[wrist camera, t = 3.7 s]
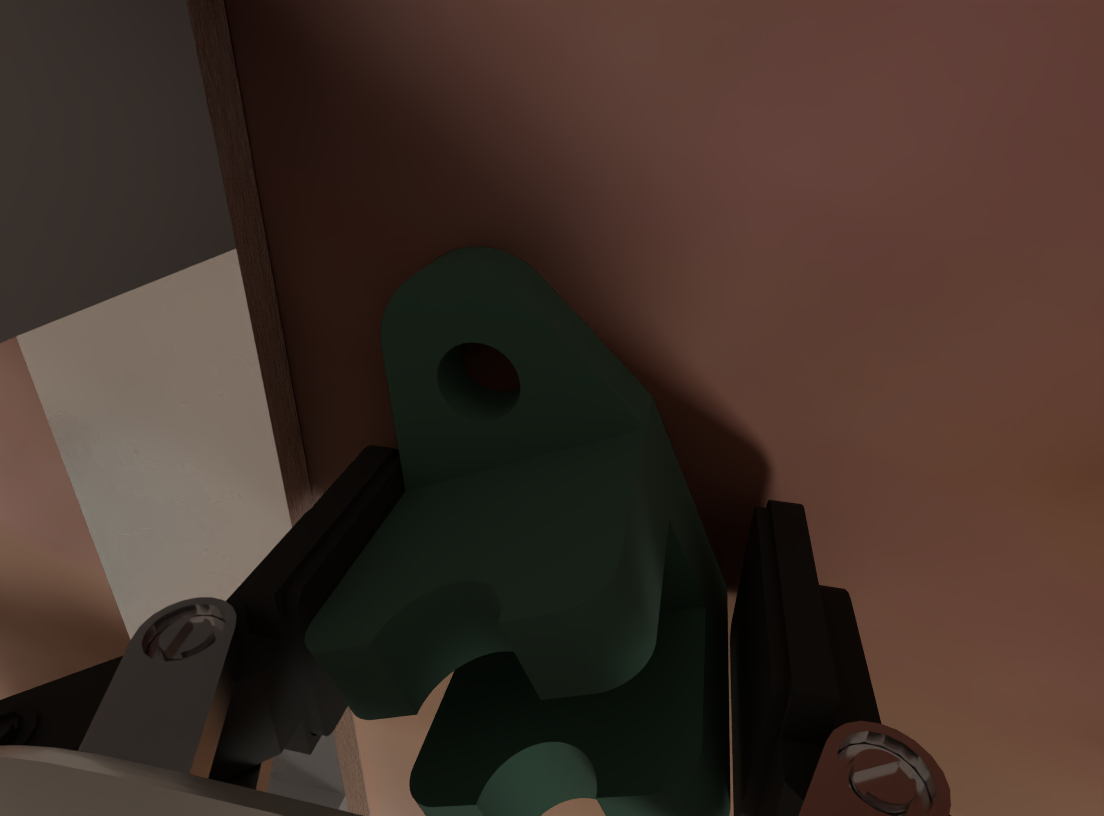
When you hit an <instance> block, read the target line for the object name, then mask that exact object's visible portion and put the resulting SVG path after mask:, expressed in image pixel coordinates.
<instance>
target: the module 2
mask: <svg viewBox="0 0 1104 816" xmlns="http://www.w3.org/2000/svg"><path fill="white" fill-rule="evenodd" d="M267 793H271V794H275V795H280V796H284V797H288V798H292V799H297V800H301V801H305V802H309V803H313V804H318V805H322V806H326V807H330V808H334V809H339V810H343V811H347V812H349V810H348V805H347V800H346V795H343V794H339V793H335V792H331V791H326V790H322V789H318V788H314V787H310V786H305V785H301V784H297V783H293V782H289V781H284V780H280V779H276V778H272V777H270V778H269V783H268V789H267Z"/></svg>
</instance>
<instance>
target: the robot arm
mask: <svg viewBox="0 0 1104 816" xmlns="http://www.w3.org/2000/svg"><path fill="white" fill-rule="evenodd" d="M404 492H405V486H404V480H403V474H402V468H401V461H400V455H399V450H398V449H394V448H386V447H379V446H372V445H371V446H367V447H366V448H365V449H364V450H363V451H362V452H361V453H360V454H359V456H358V457H357V458H356V459H355V460H354V461H353V462H352V463H351V464H350V466H349V467H348V468H347V469H346V470H345V471H344V472H343V473H342V474H341V476H340V477H339V478H338V479H337V480H336V481H335V482H334V483H333V484H332V486H331V487H330V488H329V489H328V490H327V491H326V492H325V493H324V494H323V496H322V497H321V498H320V499H319V500H318V501H317V502H316V503H315V504H314V506H313V507H312V508H311V509H309V510H308V511H307V512H306V513H305V514H304V515H303V516H302V517H301V518H300V519H299V521H298V522H297V523H296V524H295V525H294V526H293V527H292V528H291V529H290V530H289V532H288V533H287V534H286V535H285V536H284V537H283V538H282V539H281V540H280V542H279V543H278V544H277V545H276V546H275V547H274V548H273V549H272V550H271V552H270V553H269V554H268V555H267V556H266V557H265V558H264V559H263V560H262V562H261V563H260V564H259V565H258V566H257V567H256V568H255V569H254V570H253V571H252V573H251V574H250V575H249V576H248V577H247V578H246V579H245V580H244V581H243V583H242V584H241V585H240V586H239V587H238V588H237V589H236V590H235V591H234V593H233V594H232V595H231V596H230V597H229V598H228V599H227V600H226V601H224V600H221V599H217V598H213V597H197V598H192V599H187V600H182V601H180V602H177V603H174V604H172V605H169V606H167V607H165V608H163V609H162V610H160V611H158V612H157V613H155V614H153V615H152V616H151V617H149V618H148V619H147V620H146V621H145V622H144V623H143V624H142V625H140V627H139V628H138V630H137V631H136V633H135V634H134V635H133V637H132V639H131V641H130V643H129V645H128V647H127V649H126V651H125V654H124V656H121V657H118V658H115V659H113V660H110V661H107V662H104V663H101V664H99V665H96V666H93V667H90V668H88V669H85V670H82V671H79V672H77V673H74V674H71V675H68V676H66V677H63V678H60V679H57V680H54V681H52V682H49V683H46V684H43V685H41V686H38V687H35V688H32V689H30V690H27V691H24V692H21V693H18V694H16V695H13V696H10V697H7V698H5V699H2V700H0V816H363V815H359V814H355V813H351V812H347V811H343V810H339V809H334V808H330V807H326V806H322V805H318V804H313V803H309V802H305V801H301V800H297V799H292V798H288V797H284V796H280V795H275V794H271V793H267V789H268V783H269V778H270V773H271V768H272V763H273V757H275V756H277V755H279V754H281V753H282V751H283V750H284V749H286V750H291V751H295V752H299V753H304V754H308V755H311V753H312V752H313V750H314V748H315V746H316V745H317V743H318V741H319V740H320V738H321V736H322V735H323V736H329V735H330V734H331V733H332V732H333V731H334V729H335V728H336V726H337V724H338V723H339V721H340V719H341V717H342V715H343V714H344V712H345V710H346V708H347V707H348V705H347V703H346V702H345V700H344V699H343V698H342V696H341V695H340V693H339V692H338V691H337V689H336V688H335V686H334V685H333V684H332V682H331V681H330V679H329V678H328V676H327V675H326V674H325V672H324V671H323V669H322V668H321V667H320V665H319V664H318V662H317V661H316V659H315V658H314V657H313V655H312V654H311V652H310V651H309V650H308V648H307V647H306V645H305V641H304V639H305V633H306V631H307V628H308V626H309V625H310V623H311V622H312V620H313V619H314V617H315V616H316V614H317V613H318V612H319V610H320V609H321V608H322V606H323V605H324V603H325V602H326V601H327V599H328V598H329V596H330V595H331V594H332V592H333V591H334V590H335V588H336V587H337V585H338V584H339V583H340V581H341V580H342V578H343V577H344V576H345V574H346V573H347V571H348V570H349V569H350V567H351V566H352V565H353V563H354V562H355V560H356V559H357V558H358V556H359V555H360V553H361V552H362V551H363V549H364V548H365V547H366V545H367V544H368V542H369V541H370V540H371V538H372V537H373V535H374V534H375V533H376V531H377V530H378V529H379V527H380V526H381V524H382V523H383V522H384V520H385V519H386V517H387V516H388V515H389V513H390V512H391V510H392V509H393V508H394V506H395V505H396V504H397V502H398V501H399V499H400V498H401V497H402V495H403V494H404ZM730 662H731V708H732V754H733V801H734V816H951V815H950V814H949V813H950V807H951V801H950V788H949V785H948V783H947V780H946V778H945V775H944V773H943V771H942V770H941V768H940V767H939V766H938V764H937V763H936V761H935V760H934V759H933V757H932V756H931V755H930V754H929V753H928V752H927V751H926V750H925V749H924V748H922V747H921V746H920V745H919V744H918V743H917V742H916V741H914V740H913V739H911V738H910V737H908V736H906V735H905V734H903V733H901V732H900V731H898V730H896V729H893V728H890V727H888V726H885V725H882V724H881V720H880V716H879V712H878V708H877V704H876V700H875V696H874V692H873V688H872V684H871V680H870V676H869V671H868V667H867V663H866V659H865V655H864V651H863V647H862V643H861V639H860V635H859V631H858V627H857V623H856V619H855V614H854V610H853V606H852V602H851V599H850V596H849V593H848V592H847V591H846V589H841V588H835V587H828V586H822V585H819V583H818V578H817V573H816V568H815V562H814V557H813V552H812V547H811V542H810V536H809V531H808V526H807V521H806V515H805V510H804V507H803V505H802V504H796V503H788V502H781V501H774V500H769V501H768V503H767V506H766V508H763V507H755V509H754V512H753V517H752V522H751V527H750V532H749V537H748V542H747V547H746V552H745V557H744V562H743V567H742V572H741V577H740V582H739V588H738V593H737V598H736V603H735V608H734V613H733V618H732V624H731V633H730Z"/></svg>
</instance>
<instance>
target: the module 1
mask: <svg viewBox="0 0 1104 816" xmlns="http://www.w3.org/2000/svg"><path fill="white" fill-rule="evenodd" d="M234 249H236V245H235V240H234V235H233V230H232V225H231V220H230V215H229V210H228V205H227V200H226V195H225V190H224V185H223V180H222V175H221V170H220V165H219V160H218V155H217V150H216V145H215V140H214V135H213V130H212V125H211V120H210V115H209V110H208V105H207V100H206V95H205V90H204V85H203V80H202V75H201V70H200V65H199V60H198V55H197V50H196V45H195V40H194V35H193V30H192V25H191V20H190V15H189V10H188V5H187V0H0V343H1V342H3V341H6V340H8V339H11V338H13V337H16V336H18V335H21V334H23V333H26V332H28V331H31V330H33V329H36V328H38V327H41V326H43V325H46V324H48V323H51V322H53V321H56V320H58V319H61V318H63V317H66V316H68V315H71V314H73V313H76V312H78V311H81V310H83V309H86V308H88V307H91V306H93V305H96V304H98V303H101V302H103V301H106V300H108V299H111V298H113V297H116V296H118V295H121V294H123V293H126V292H128V291H131V290H133V289H136V288H139V287H141V286H144V285H146V284H149V283H151V282H154V281H156V280H159V279H161V278H164V277H166V276H169V275H171V274H174V273H176V272H179V271H181V270H184V269H186V268H189V267H191V266H194V265H196V264H199V263H201V262H204V261H206V260H209V259H211V258H214V257H216V256H219V255H221V254H224V253H226V252H229V251H231V250H234Z"/></svg>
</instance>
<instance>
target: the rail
mask: <svg viewBox="0 0 1104 816" xmlns="http://www.w3.org/2000/svg"><path fill="white" fill-rule="evenodd" d="M187 5H188V10H189V15H190V20H191V25H192V30H193V35H194V40H195V45H196V50H197V55H198V60H199V65H200V70H201V75H202V80H203V85H204V90H205V95H206V100H207V105H208V110H209V115H210V120H211V125H212V130H213V135H214V140H215V145H216V150H217V155H218V160H219V165H220V170H221V175H222V180H223V185H224V190H225V195H226V200H227V205H228V210H229V215H230V220H231V225H232V230H233V235H234V240H235V245H236V249H234V250H231V251H229V252H226V253H224V254H221V255H219V256H216V257H214V258H211V259H209V260H206V261H204V262H201V263H199V264H196V265H194V266H191V267H189V268H186V269H184V270H181V271H179V272H176V273H174V274H171V275H169V276H166V277H164V278H161V279H159V280H156V281H154V282H151V283H149V284H146V285H144V286H141V287H139V288H136V289H133V290H131V291H128V292H126V293H123V294H121V295H118V296H116V297H113V298H111V299H108V300H106V301H103V302H101V303H98V304H96V305H93V306H91V307H88V308H86V309H83V310H81V311H78V312H76V313H73V314H71V315H68V316H66V317H63V318H61V319H58V320H56V321H53V322H51V323H48V324H46V325H43V326H41V327H38V328H36V329H33V330H31V331H28V332H26V333H23V334H21V335H18V336H16V337H17V340H18V342H19V345H20V348H21V350H22V353H23V356H24V358H25V361H26V364H27V366H28V369H29V372H30V374H31V377H32V380H33V382H34V385H35V388H36V390H37V393H38V396H39V398H40V401H41V404H42V406H43V409H44V411H45V414H46V417H47V419H48V422H49V425H50V427H51V430H52V433H53V435H54V438H55V441H56V443H57V446H58V449H59V451H60V454H61V457H62V459H63V462H64V465H65V467H66V470H67V473H68V475H69V478H70V480H71V483H72V486H73V488H74V491H75V494H76V496H77V499H78V502H79V504H80V507H81V510H82V512H83V515H84V518H85V520H86V523H87V526H88V528H89V531H90V534H91V536H92V539H93V541H94V544H95V547H96V549H97V552H98V555H99V557H100V560H101V563H102V565H103V568H104V571H105V573H106V576H107V579H108V581H109V584H110V587H111V589H112V592H113V595H114V597H115V600H116V603H117V605H118V608H119V610H120V613H121V616H122V618H123V621H124V624H125V626H126V629H127V632H128V634H129V637H130V640H131V639H132V637H133V635H134V634H135V633H136V631H137V630H138V628H139V627H140V625H142V624H143V623H144V622H145V621H146V620H147V619H148V618H149V617H151V616H152V615H153V614H155V613H157V612H158V611H160V610H162V609H163V608H165V607H167V606H169V605H172V604H174V603H177V602H180V601H182V600H187V599H192V598H197V597H213V598H217V599H221V600H224V601H226V600H227V599H228V598H229V597H230V596H231V595H232V594H233V593H234V591H235V590H236V589H237V588H238V587H239V586H240V585H241V584H242V583H243V581H244V580H245V579H246V578H247V577H248V576H249V575H250V574H251V573H252V571H253V570H254V569H255V568H256V567H257V566H258V565H259V564H260V563H261V562H262V560H263V559H264V558H265V557H266V556H267V555H268V554H269V553H270V552H271V550H272V549H273V548H274V547H275V546H276V545H277V544H278V543H279V542H280V540H281V539H282V538H283V537H284V536H285V535H286V534H287V533H288V532H289V530H290V529H291V528H292V527H293V526H294V525H295V524H296V523H297V522H298V521H299V519H300V518H301V517H302V516H303V515H304V514H305V513H306V512H307V511H308V510H309V509H311V508H312V507H313V506H314V505H313V500H312V494H311V488H310V483H309V477H308V472H307V466H306V460H305V455H304V449H303V443H302V438H301V432H300V427H299V421H298V415H297V410H296V404H295V399H294V393H293V387H292V382H291V376H290V370H289V365H288V359H287V354H286V348H285V342H284V337H283V331H282V326H281V320H280V314H279V309H278V303H277V297H276V292H275V286H274V281H273V275H272V269H271V264H270V258H269V253H268V247H267V241H266V236H265V230H264V224H263V219H262V213H261V208H260V202H259V196H258V191H257V185H256V180H255V174H254V168H253V163H252V157H251V151H250V146H249V140H248V135H247V129H246V123H245V118H244V112H243V106H242V101H241V95H240V90H239V84H238V78H237V73H236V67H235V62H234V56H233V50H232V45H231V39H230V33H229V28H228V22H227V17H226V11H225V5H224V0H187ZM270 777H272V778H276V779H280V780H284V781H289V782H293V783H297V784H301V785H305V786H310V787H314V788H318V789H322V790H326V791H331V792H335V793H339V794H343V795H346V800H347V805H348V810H349V812H351V813H355V814H359V815H363V816H369V814H368V809H367V803H366V797H365V792H364V786H363V781H362V775H361V769H360V764H359V758H358V752H357V747H356V741H355V736H354V730H353V724H352V719H351V713H350V708H349V706H348V707H347V708H346V710H345V712H344V714H343V715H342V717H341V719H340V721H339V723H338V724H337V726H336V728H335V729H334V731H333V732H332V733H331V734H330V735H329V736H323V735H322V736H321V738H320V740H319V741H318V743H317V745H316V746H315V748H314V750H313V752H312V753H311V755H308V754H304V753H299V752H295V751H291V750H286V749H284V750H283V751H282V753H281V754H279V755H277V756H275V757H273V763H272V768H271V773H270Z"/></svg>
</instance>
